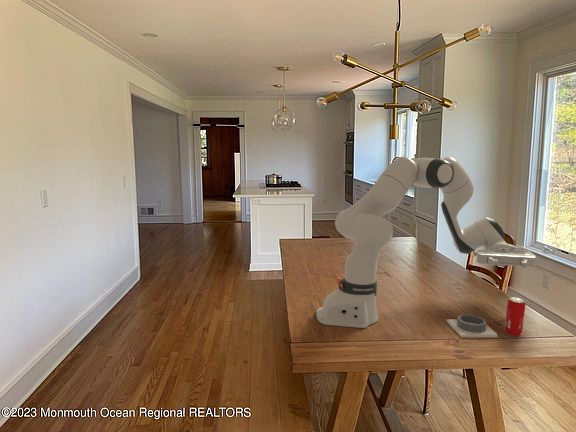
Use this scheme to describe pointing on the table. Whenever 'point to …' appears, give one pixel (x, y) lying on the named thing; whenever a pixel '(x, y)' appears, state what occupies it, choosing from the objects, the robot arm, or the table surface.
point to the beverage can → (515, 316)
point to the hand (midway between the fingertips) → (510, 264)
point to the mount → (471, 326)
